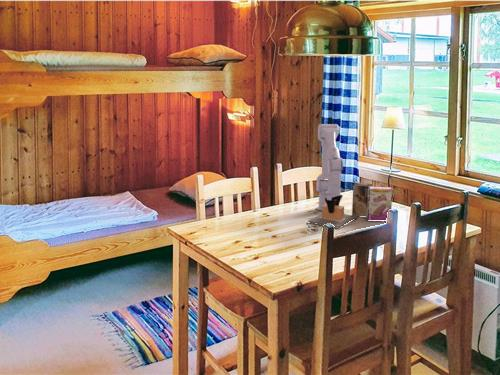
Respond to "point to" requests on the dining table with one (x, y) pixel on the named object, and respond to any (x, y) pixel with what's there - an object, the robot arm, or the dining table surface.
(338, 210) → the block
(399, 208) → the dining table surface
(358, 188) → the coffee box
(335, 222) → the pin board
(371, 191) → the candy bar box
